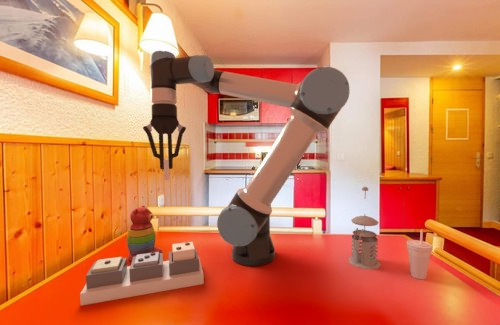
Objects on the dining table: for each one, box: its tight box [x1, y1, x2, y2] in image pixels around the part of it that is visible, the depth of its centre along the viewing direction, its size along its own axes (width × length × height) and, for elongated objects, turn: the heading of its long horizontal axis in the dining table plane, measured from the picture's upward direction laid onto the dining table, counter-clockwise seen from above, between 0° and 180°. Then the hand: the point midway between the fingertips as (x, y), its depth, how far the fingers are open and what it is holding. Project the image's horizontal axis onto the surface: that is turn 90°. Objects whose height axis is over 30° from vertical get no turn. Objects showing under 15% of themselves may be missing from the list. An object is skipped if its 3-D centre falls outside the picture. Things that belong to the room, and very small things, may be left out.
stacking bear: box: [126, 205, 163, 263], centre depth 90 cm, size 11×10×18 cm
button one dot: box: [92, 256, 123, 273], centre depth 69 cm, size 6×6×4 cm
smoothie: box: [406, 228, 434, 280], centre depth 74 cm, size 6×6×14 cm
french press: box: [348, 186, 382, 270], centre depth 82 cm, size 10×12×25 cm
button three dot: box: [134, 252, 159, 267], centre depth 73 cm, size 6×6×4 cm
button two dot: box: [172, 241, 195, 262], centre depth 75 cm, size 6×6×4 cm
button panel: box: [79, 247, 205, 306], centre depth 73 cm, size 30×12×6 cm, turn 108°
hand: (166, 179), depth 81 cm, fingers closed
